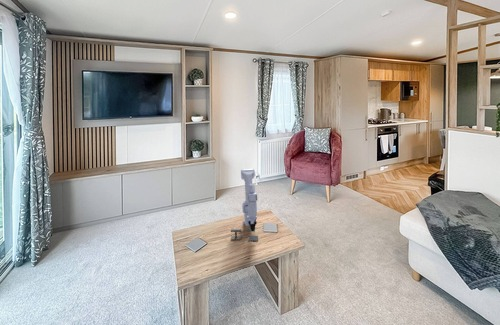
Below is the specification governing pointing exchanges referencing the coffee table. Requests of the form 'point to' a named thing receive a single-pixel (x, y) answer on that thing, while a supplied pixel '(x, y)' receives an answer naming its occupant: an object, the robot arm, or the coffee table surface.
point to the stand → (236, 237)
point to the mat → (253, 238)
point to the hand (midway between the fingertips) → (253, 228)
